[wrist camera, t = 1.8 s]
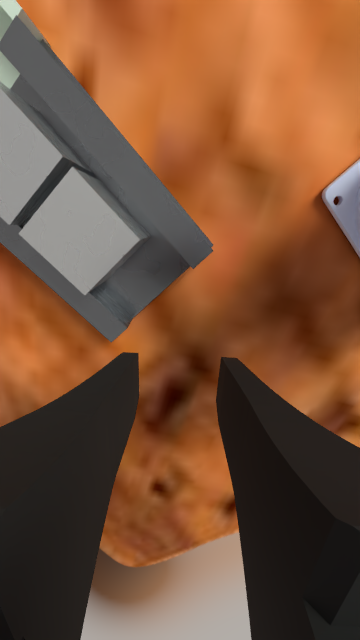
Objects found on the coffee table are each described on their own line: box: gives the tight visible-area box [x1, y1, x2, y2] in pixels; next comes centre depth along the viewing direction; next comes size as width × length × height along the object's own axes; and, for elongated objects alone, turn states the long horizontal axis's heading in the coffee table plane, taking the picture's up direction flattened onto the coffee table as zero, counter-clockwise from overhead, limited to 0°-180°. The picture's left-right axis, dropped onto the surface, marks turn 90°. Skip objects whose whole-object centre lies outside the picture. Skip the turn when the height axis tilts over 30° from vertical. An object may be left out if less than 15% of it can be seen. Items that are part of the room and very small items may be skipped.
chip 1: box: [0, 82, 95, 225], centre depth 12 cm, size 4×4×4 cm
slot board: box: [0, 15, 213, 342], centre depth 14 cm, size 13×9×3 cm
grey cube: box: [19, 167, 151, 295], centre depth 13 cm, size 4×4×4 cm
